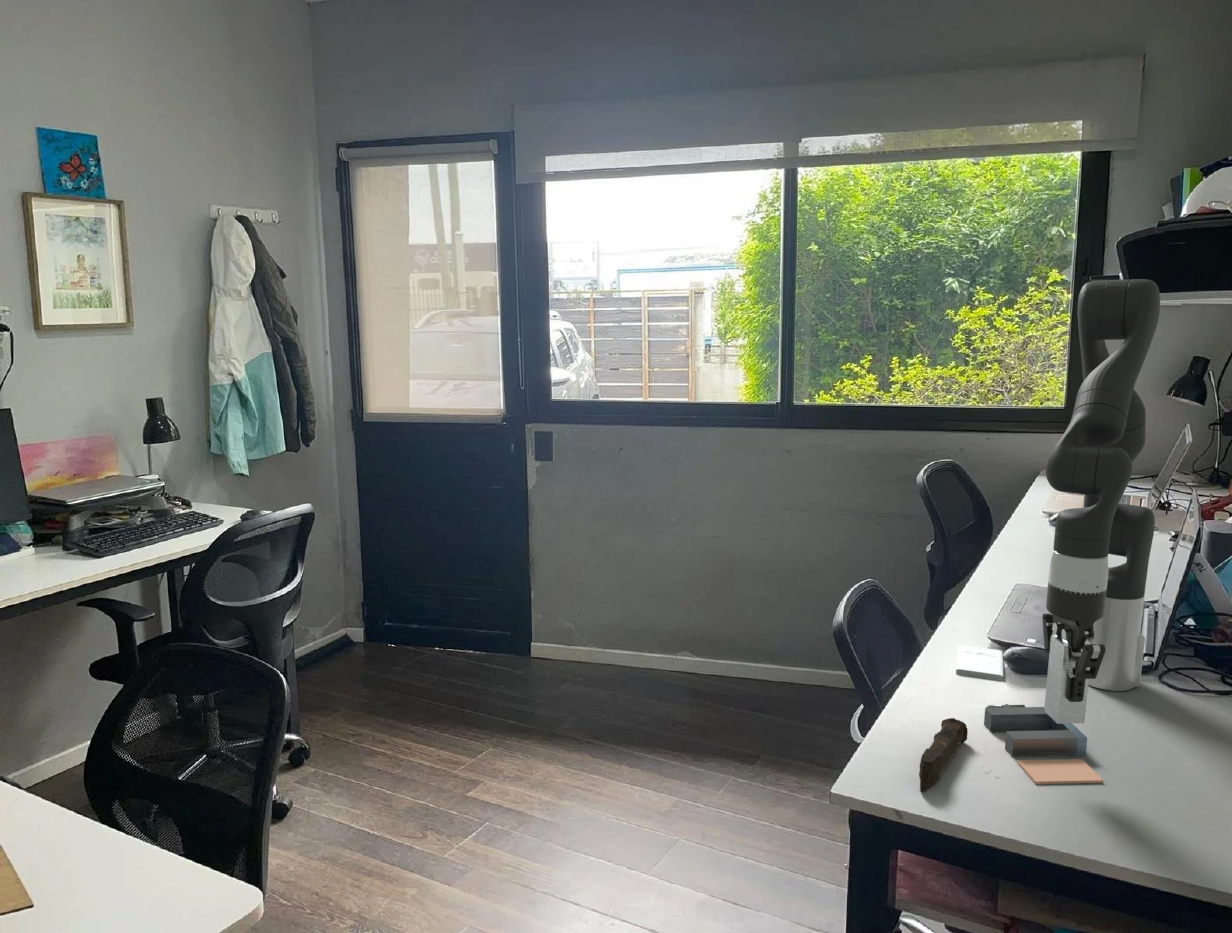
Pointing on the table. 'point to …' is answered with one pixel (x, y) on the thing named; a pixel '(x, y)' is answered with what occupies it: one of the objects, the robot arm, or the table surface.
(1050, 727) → the vise
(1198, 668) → the table surface
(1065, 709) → the steel bar
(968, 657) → the external hard drive
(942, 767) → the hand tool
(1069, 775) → the mat
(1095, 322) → the robot arm
